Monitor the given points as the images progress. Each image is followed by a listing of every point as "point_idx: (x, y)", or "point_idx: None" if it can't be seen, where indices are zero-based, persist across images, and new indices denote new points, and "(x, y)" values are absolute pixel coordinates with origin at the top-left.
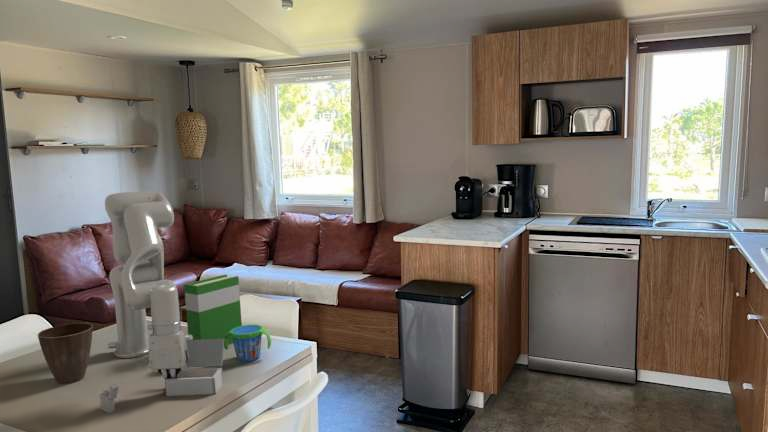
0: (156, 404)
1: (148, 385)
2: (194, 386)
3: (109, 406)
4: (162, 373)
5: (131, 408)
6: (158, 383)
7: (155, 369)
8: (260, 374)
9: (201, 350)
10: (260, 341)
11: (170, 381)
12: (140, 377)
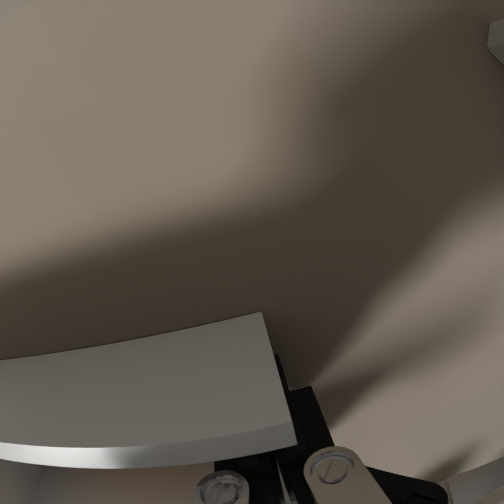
0: (248, 133)
1: (456, 399)
2: (20, 393)
3: None
4: (372, 489)
5: (414, 55)
6: (413, 433)
7: (478, 490)
8: None
9: None
10: None
11: (218, 418)
12: (494, 430)
